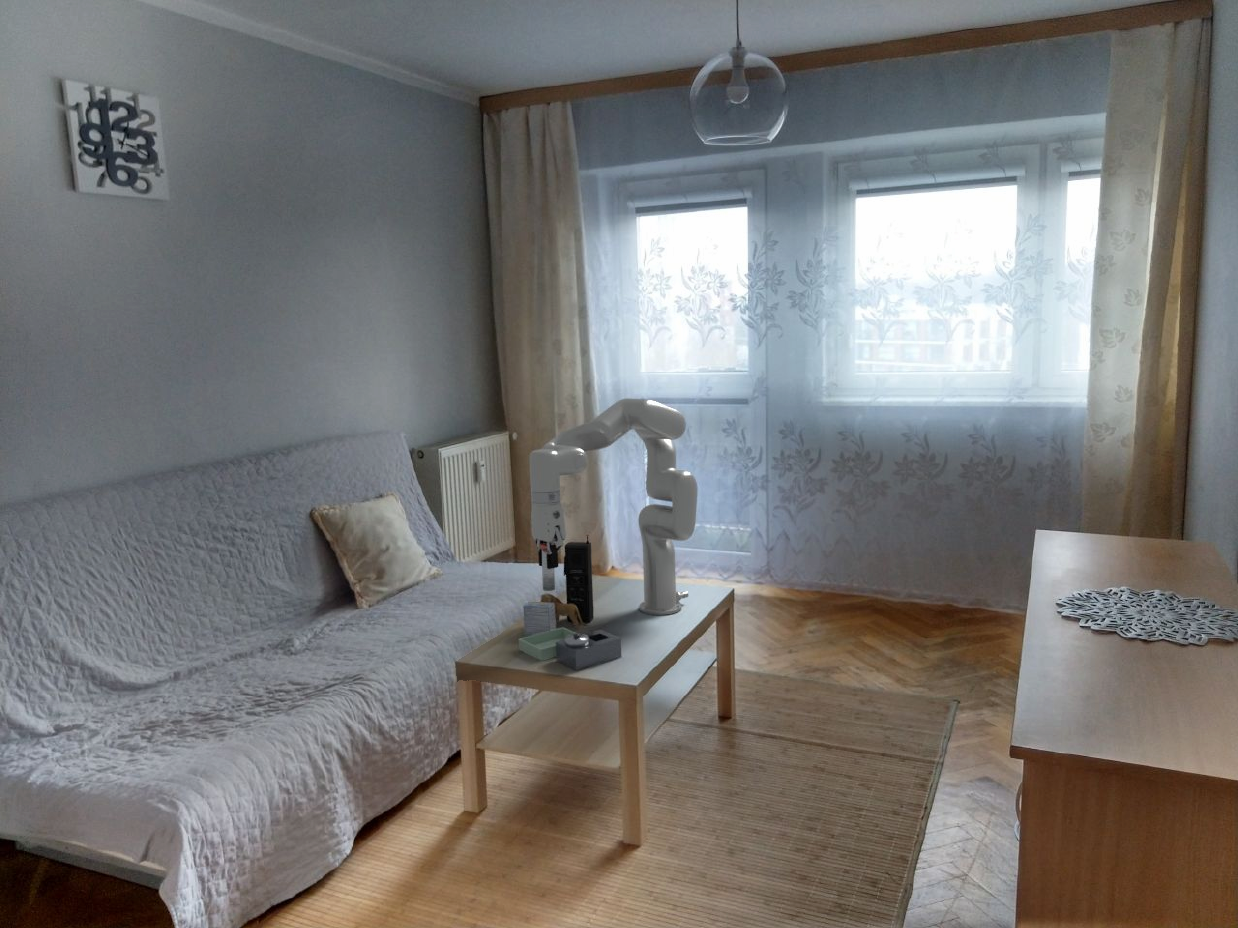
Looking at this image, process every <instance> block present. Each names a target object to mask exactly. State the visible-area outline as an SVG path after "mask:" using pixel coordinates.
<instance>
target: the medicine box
mask: <svg viewBox="0 0 1238 928" xmlns="http://www.w3.org/2000/svg"><path fill="white" fill-rule="evenodd" d="M522 607H523V621H524V622H523V623H524V625H523V626H524V635H525V637H528V636H532V635H536V634H539V633H543V632H547V631H551V630H555V629H557V624H556V619H555V603H548V602H541V601H528V602H527V603H525V605H524V606H522Z"/></svg>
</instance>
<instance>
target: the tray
mask: <svg viewBox="0 0 1238 928" xmlns="http://www.w3.org/2000/svg"><path fill="white" fill-rule="evenodd" d="M576 633H577V632H575V631H572V630H570V629H569V628H565V627H558V628H556V629H555V630H551V631H547V632H543V633H539V634H536V635H532V636H525V637H524V636H523V637H520V638H518V649H519V651H521V652H523V653H525V654H526V655H529V656H530V657H533V658H534V659H537V660H538V661H541V662H542V660H543V661H546V660H549V658H550V659H552V658H556V642H557V641H561V640H565V637H566V636H568V635H571V634H576Z"/></svg>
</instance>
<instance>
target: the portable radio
mask: <svg viewBox="0 0 1238 928" xmlns="http://www.w3.org/2000/svg"><path fill="white" fill-rule="evenodd" d="M585 535H586V542H585V541H584V542H583V541H581V542H580V541H570V542H567V543H566V544H564V557H563V577H564V576H565V588H566V592H565V594H566V604H574V605H576V606H577V608H578V611H579V614H580V617H581V620H582V622H583V623H584V624H588V623H591V622H592V620H594V617H595V615H594V593H593V592H594V591H593V572H592V571H593V566H592V543H591V542H590V541H589V535H588V534H585ZM577 620H578V623H581V622H580V620H579V617H578V614H577ZM566 621H567V622H568V623H574V622H573V621H572V620H571V619H570V617H569V615H567V616H566Z"/></svg>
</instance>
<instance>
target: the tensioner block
mask: <svg viewBox="0 0 1238 928" xmlns="http://www.w3.org/2000/svg"><path fill="white" fill-rule="evenodd" d="M575 633H576V634H571V635H568V636H566V637H565V640H561V641H557V642H556V657H555V659H556V662H558V663H560V662H561V663H560V664H563V665H564V666H567V667H569V668H571V669H572V670H575V671H579V670H583V669H585V668H590V667H593V666H596V665H600V664H602V663H607V662H610V661H613V660H616V659H619V658H622V639H621V637H619V636H616V635H614V634H612V633H609V632H606V631H604V630H601V629H599V630H594V631H591V632H587V633H577V632H575Z"/></svg>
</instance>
